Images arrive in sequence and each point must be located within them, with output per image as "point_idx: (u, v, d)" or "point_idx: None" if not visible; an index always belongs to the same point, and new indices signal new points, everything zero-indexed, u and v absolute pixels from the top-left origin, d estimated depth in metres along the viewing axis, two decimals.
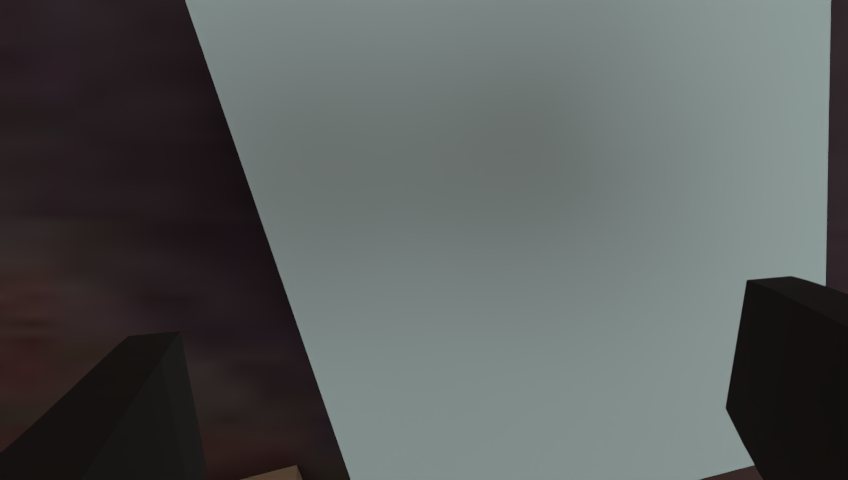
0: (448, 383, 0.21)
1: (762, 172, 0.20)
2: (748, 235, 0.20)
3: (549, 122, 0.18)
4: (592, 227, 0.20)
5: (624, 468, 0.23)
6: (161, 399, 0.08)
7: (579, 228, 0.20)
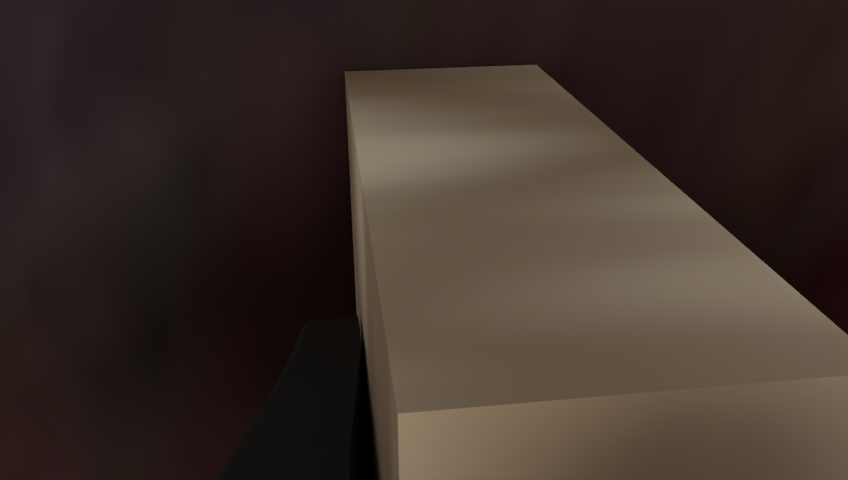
0: None
1: None
2: None
3: None
4: None
5: None
6: (362, 379, 0.08)
7: None
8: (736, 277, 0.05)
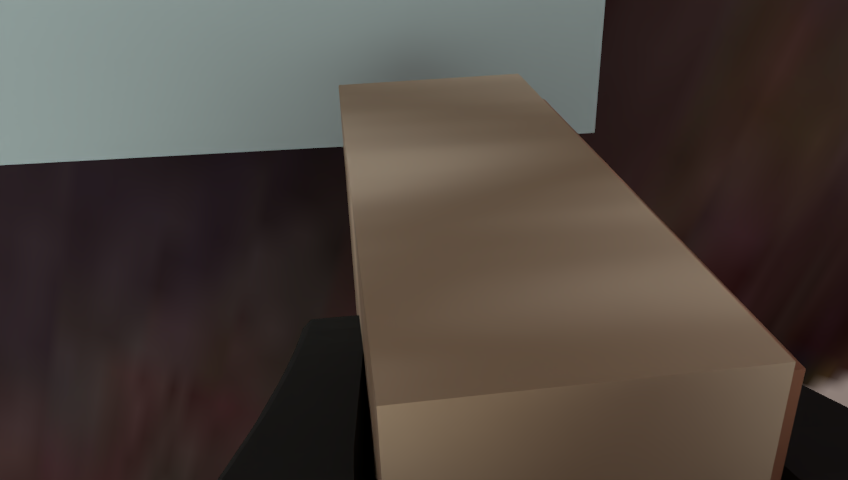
0: None
1: None
2: None
3: None
4: None
5: None
6: (365, 379, 0.08)
7: None
8: (677, 279, 0.06)
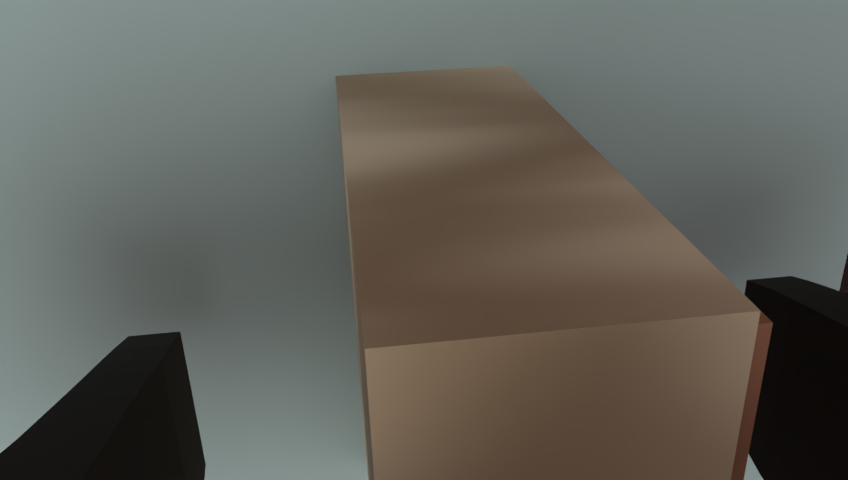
0: None
1: None
2: None
3: (89, 294, 0.12)
4: (283, 236, 0.12)
5: (790, 197, 0.13)
6: (161, 400, 0.08)
7: (282, 256, 0.12)
8: (653, 242, 0.06)
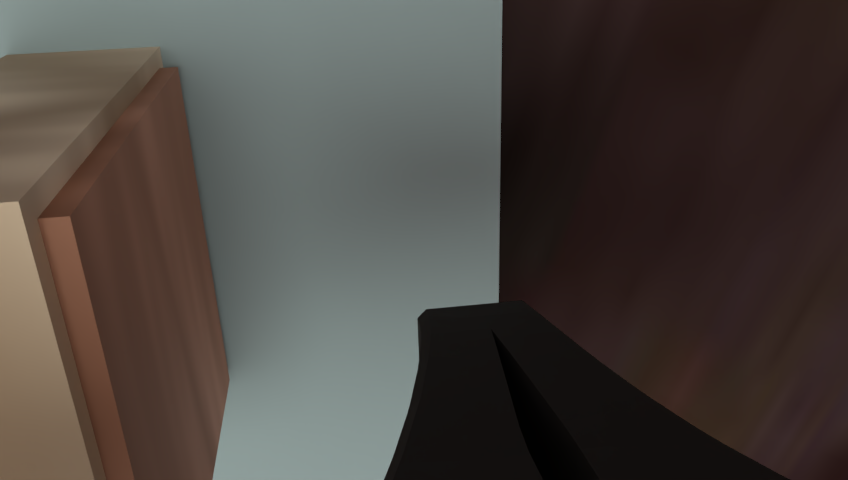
0: None
1: None
2: None
3: None
4: None
5: (436, 161, 0.15)
6: None
7: None
8: (28, 164, 0.08)
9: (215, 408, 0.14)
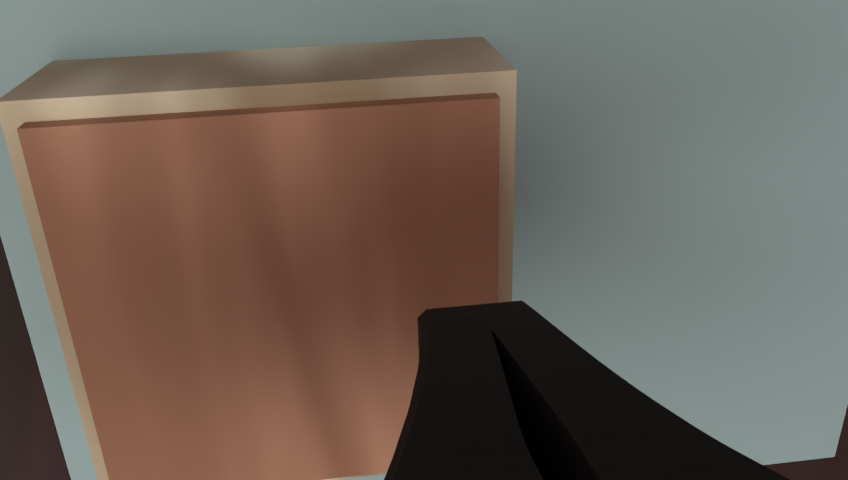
0: (604, 361, 0.16)
1: None
2: None
3: None
4: None
5: None
6: None
7: None
8: (85, 92, 0.11)
9: (393, 443, 0.13)
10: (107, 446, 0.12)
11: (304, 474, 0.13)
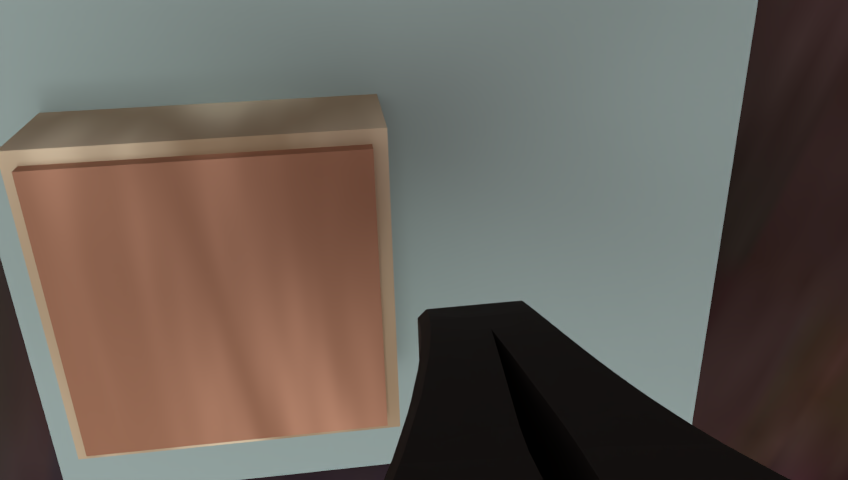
0: None
1: None
2: (394, 15, 0.16)
3: None
4: None
5: (681, 176, 0.19)
6: None
7: None
8: (63, 143, 0.14)
9: (305, 411, 0.17)
10: (80, 411, 0.16)
11: (235, 435, 0.17)
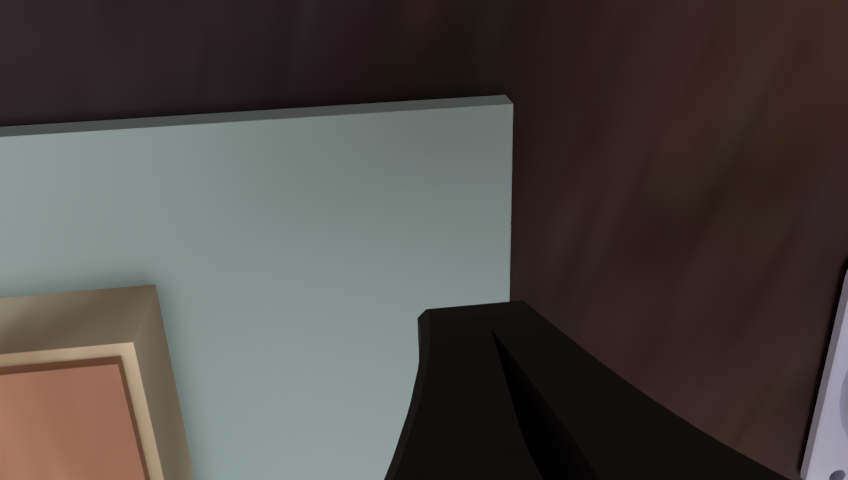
0: None
1: (80, 207, 0.17)
2: (162, 218, 0.18)
3: None
4: None
5: None
6: None
7: None
8: None
9: None
10: None
11: None
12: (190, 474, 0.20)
